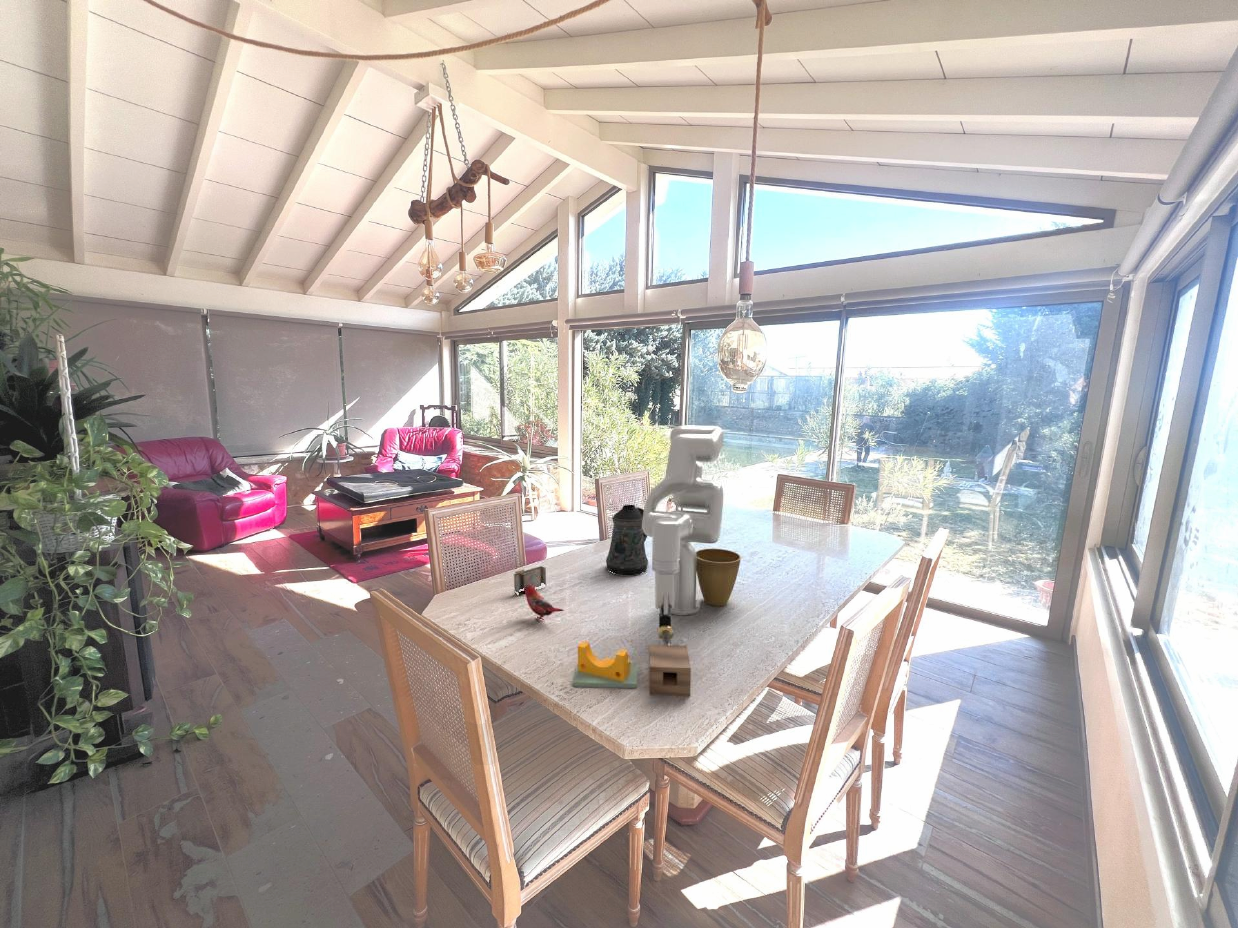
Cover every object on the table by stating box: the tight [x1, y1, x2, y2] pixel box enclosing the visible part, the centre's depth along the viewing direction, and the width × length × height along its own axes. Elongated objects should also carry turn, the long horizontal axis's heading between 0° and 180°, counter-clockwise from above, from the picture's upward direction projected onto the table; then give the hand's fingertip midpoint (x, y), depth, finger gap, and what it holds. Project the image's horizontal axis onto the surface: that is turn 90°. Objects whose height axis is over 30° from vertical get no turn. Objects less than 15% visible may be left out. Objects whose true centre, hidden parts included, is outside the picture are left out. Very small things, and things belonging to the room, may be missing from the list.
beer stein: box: [605, 504, 649, 576], centre depth 192 cm, size 16×19×25 cm
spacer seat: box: [572, 662, 638, 689], centre depth 119 cm, size 9×15×1 cm, turn 87°
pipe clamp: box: [577, 641, 631, 682], centre depth 119 cm, size 12×4×6 cm, turn 68°
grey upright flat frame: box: [513, 565, 547, 593], centre depth 170 cm, size 11×3×10 cm, turn 134°
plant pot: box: [695, 548, 742, 607], centre depth 161 cm, size 15×15×16 cm
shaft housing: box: [648, 644, 692, 697], centre depth 116 cm, size 10×9×7 cm
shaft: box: [657, 625, 674, 645], centre depth 125 cm, size 15×4×4 cm, turn 177°
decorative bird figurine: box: [524, 584, 565, 621], centre depth 147 cm, size 3×18×10 cm, turn 51°
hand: (664, 628), depth 135 cm, fingers closed
